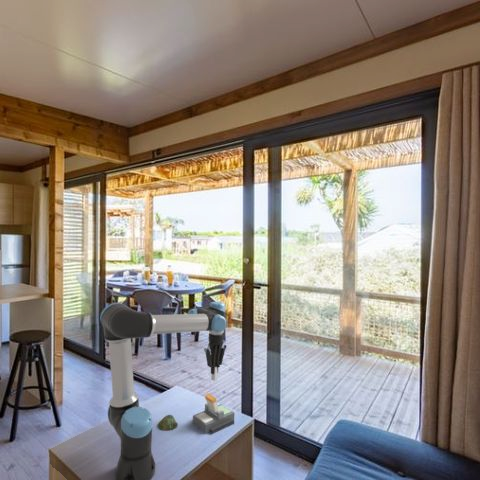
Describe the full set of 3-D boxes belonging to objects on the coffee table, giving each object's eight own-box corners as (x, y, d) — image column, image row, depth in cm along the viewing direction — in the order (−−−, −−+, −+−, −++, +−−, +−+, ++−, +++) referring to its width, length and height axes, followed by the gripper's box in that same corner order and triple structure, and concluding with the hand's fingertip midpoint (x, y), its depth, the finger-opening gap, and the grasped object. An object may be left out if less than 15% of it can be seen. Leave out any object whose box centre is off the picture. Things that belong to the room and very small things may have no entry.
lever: (217, 416, 166) (212, 401, 163) (208, 410, 171) (203, 395, 169) (221, 413, 167) (216, 398, 165) (211, 407, 173) (207, 392, 170)
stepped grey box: (206, 433, 159) (206, 418, 158) (192, 423, 167) (192, 408, 167) (234, 420, 171) (235, 406, 171) (220, 411, 179) (220, 397, 179)
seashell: (155, 421, 160) (162, 410, 170) (154, 430, 161) (161, 418, 170) (175, 425, 159) (181, 414, 169) (174, 433, 159) (180, 422, 169)
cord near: (212, 434, 159) (212, 430, 159) (209, 432, 160) (209, 428, 160) (234, 423, 168) (234, 420, 168) (231, 422, 169) (231, 418, 169)
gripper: (210, 337, 161) (208, 385, 161) (230, 332, 170) (228, 379, 170) (201, 333, 166) (199, 380, 167) (221, 329, 175) (219, 374, 175)
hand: (214, 379), depth 168 cm, fingers closed
